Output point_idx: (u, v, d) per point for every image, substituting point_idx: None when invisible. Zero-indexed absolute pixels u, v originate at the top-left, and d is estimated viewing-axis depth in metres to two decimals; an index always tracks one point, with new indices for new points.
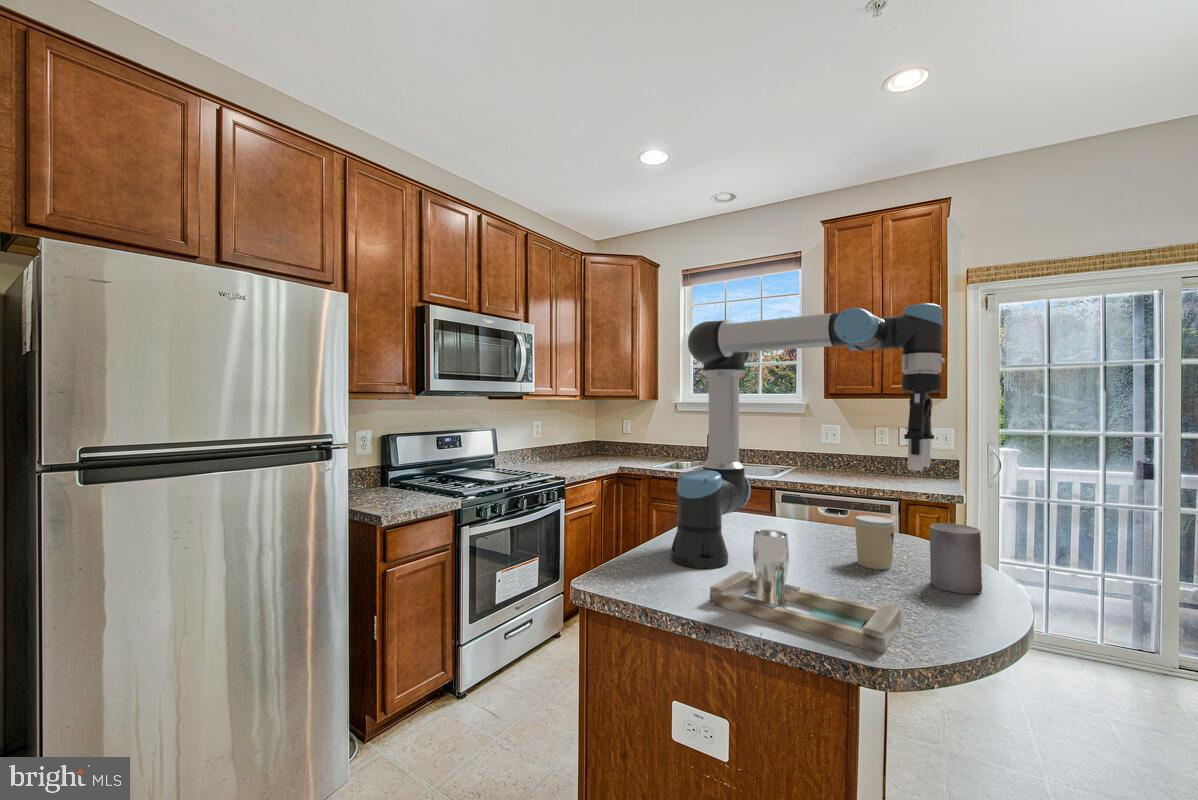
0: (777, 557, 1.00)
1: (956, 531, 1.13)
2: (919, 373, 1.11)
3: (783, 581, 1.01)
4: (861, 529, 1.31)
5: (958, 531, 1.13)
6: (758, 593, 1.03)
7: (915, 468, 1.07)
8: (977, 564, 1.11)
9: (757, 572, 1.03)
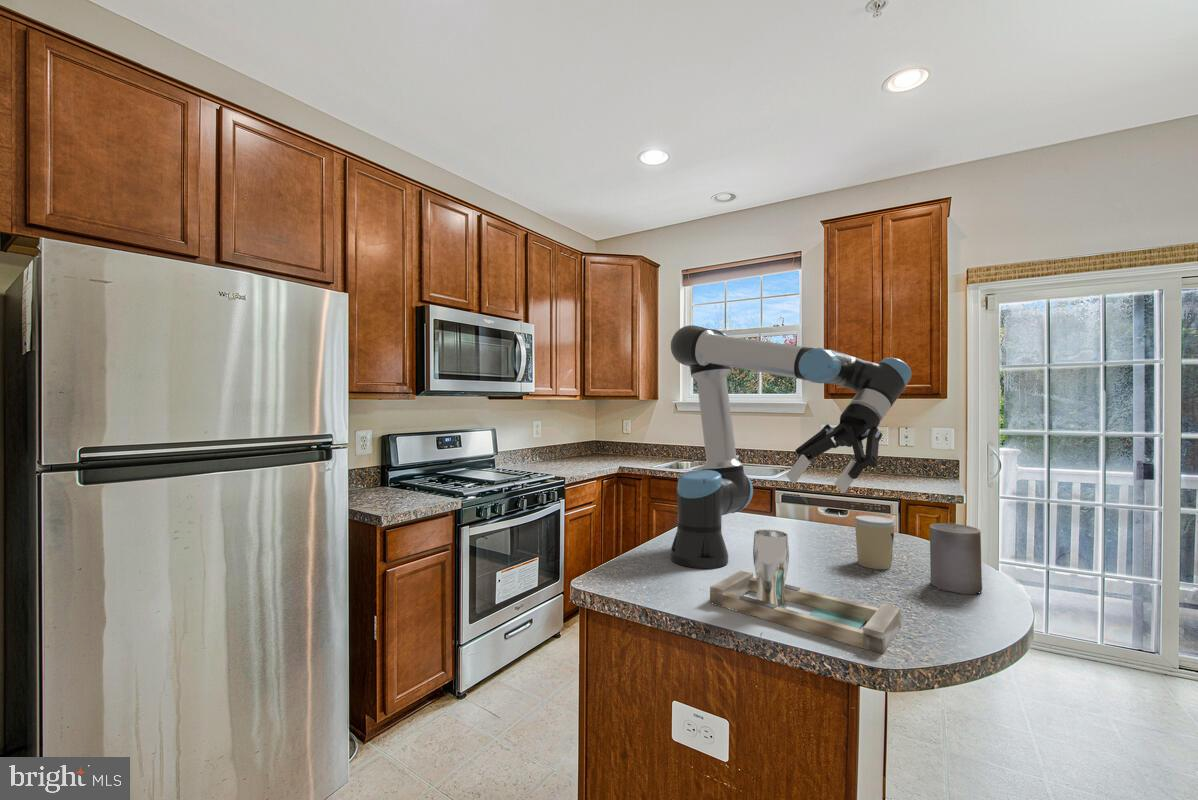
0: (777, 557, 1.00)
1: (956, 531, 1.13)
2: (876, 414, 1.11)
3: (783, 581, 1.01)
4: (861, 529, 1.31)
5: (958, 531, 1.13)
6: (758, 593, 1.03)
7: (842, 487, 1.01)
8: (977, 564, 1.11)
9: (757, 572, 1.03)
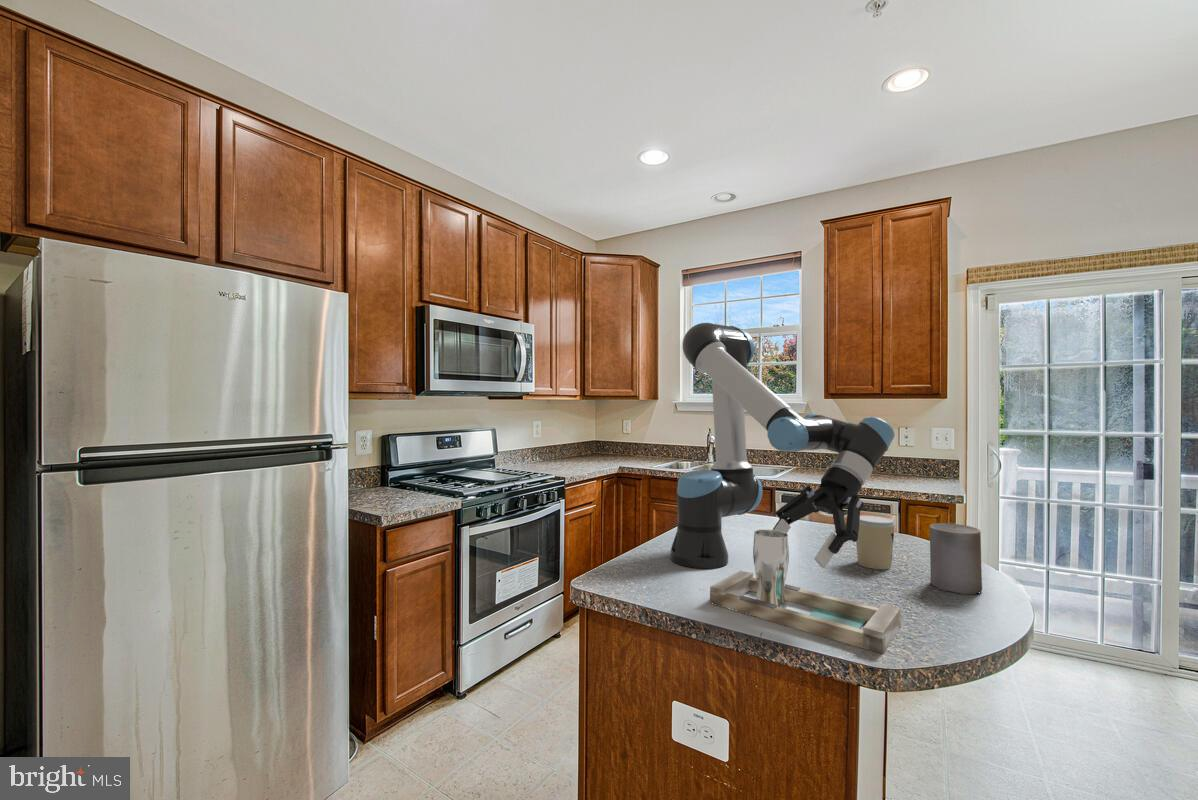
0: (777, 557, 1.00)
1: (956, 531, 1.13)
2: (858, 479, 1.06)
3: (783, 581, 1.01)
4: (861, 529, 1.31)
5: (958, 531, 1.13)
6: (758, 593, 1.03)
7: (822, 562, 0.97)
8: (977, 564, 1.11)
9: (757, 572, 1.03)
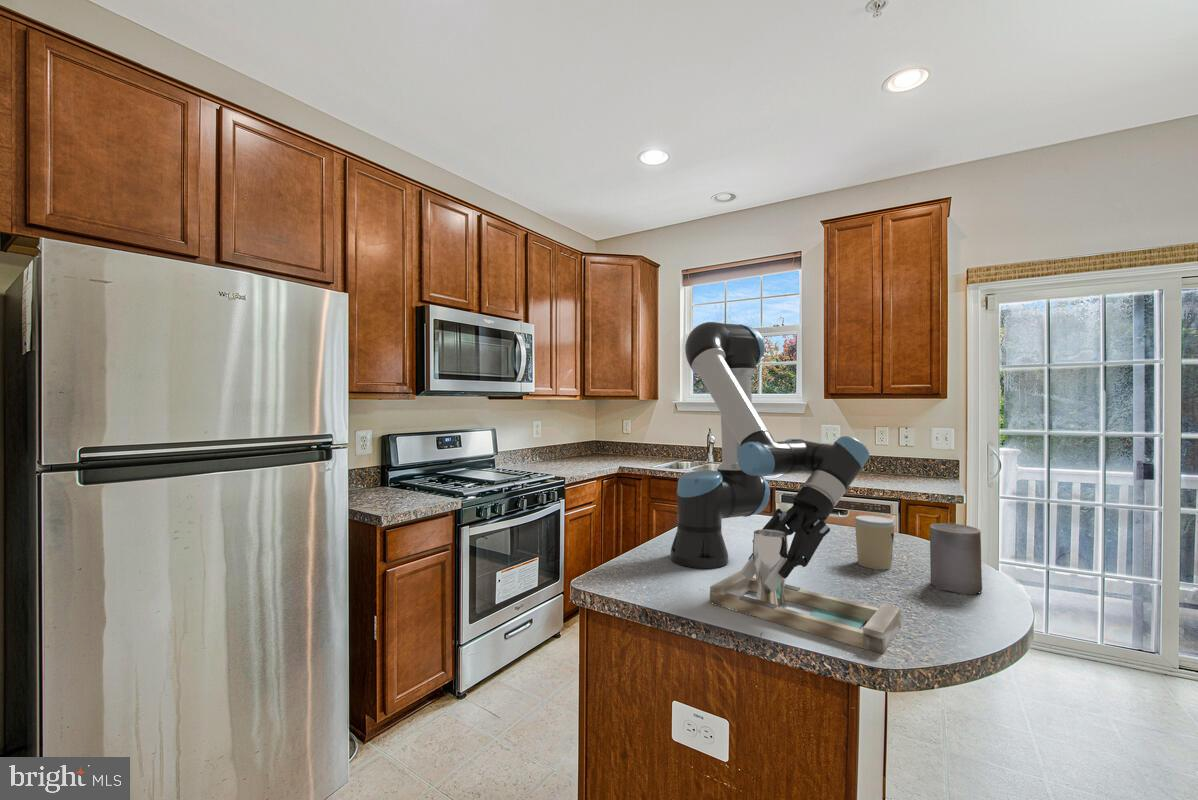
0: (777, 557, 1.00)
1: (956, 531, 1.13)
2: (829, 500, 1.05)
3: (783, 581, 1.01)
4: (861, 529, 1.31)
5: (958, 531, 1.13)
6: (758, 593, 1.03)
7: (771, 586, 0.98)
8: (977, 564, 1.11)
9: (757, 572, 1.03)
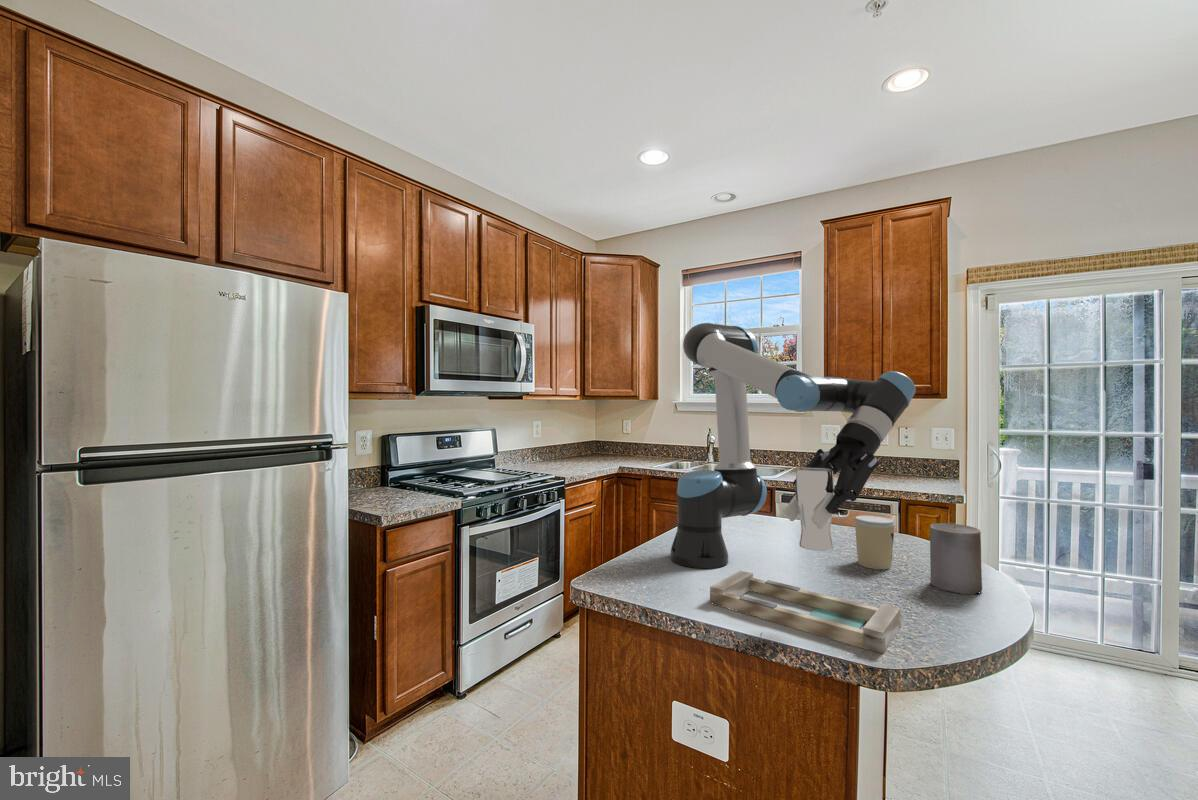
0: (823, 492, 0.94)
1: (956, 531, 1.13)
2: (876, 434, 0.99)
3: (829, 518, 0.95)
4: (861, 529, 1.31)
5: (958, 531, 1.13)
6: (802, 533, 0.97)
7: (818, 523, 0.93)
8: (977, 564, 1.11)
9: (801, 510, 0.97)
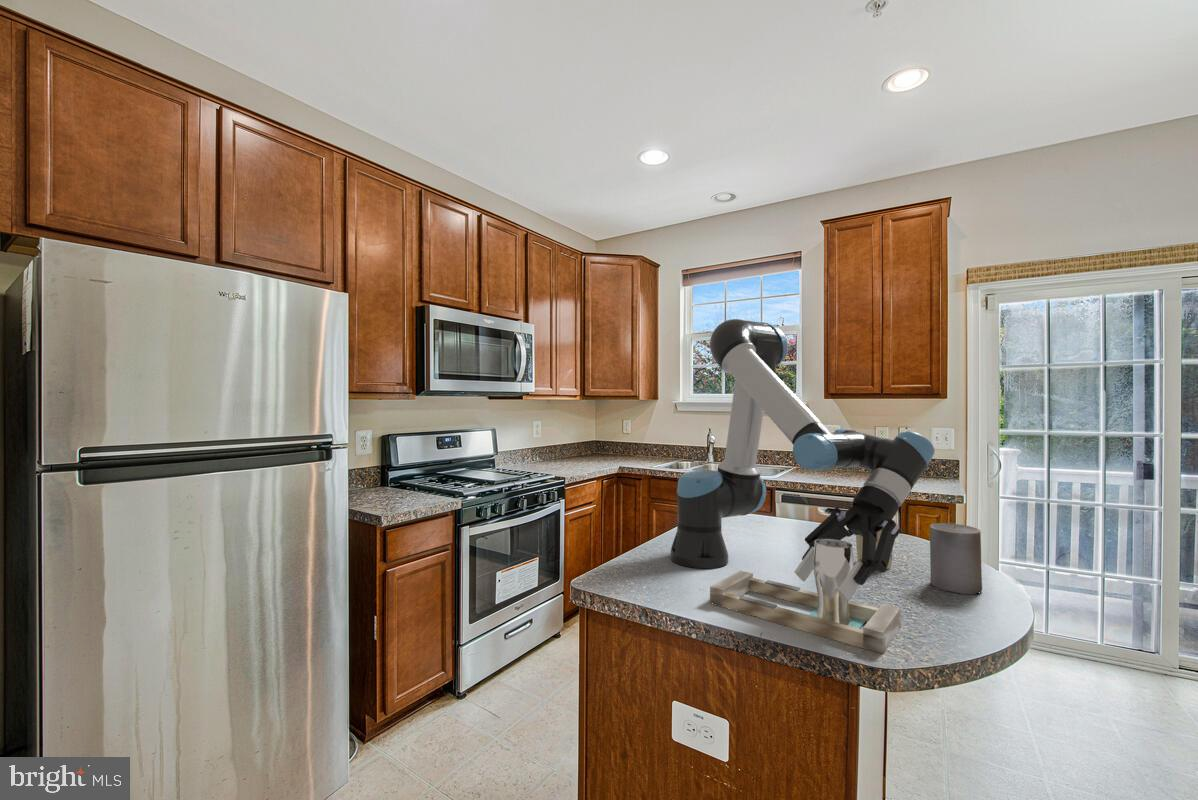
0: (842, 569, 0.92)
1: (956, 531, 1.13)
2: (895, 500, 0.97)
3: None
4: None
5: (958, 531, 1.13)
6: (820, 608, 0.95)
7: (846, 594, 0.89)
8: (977, 564, 1.11)
9: (819, 585, 0.95)
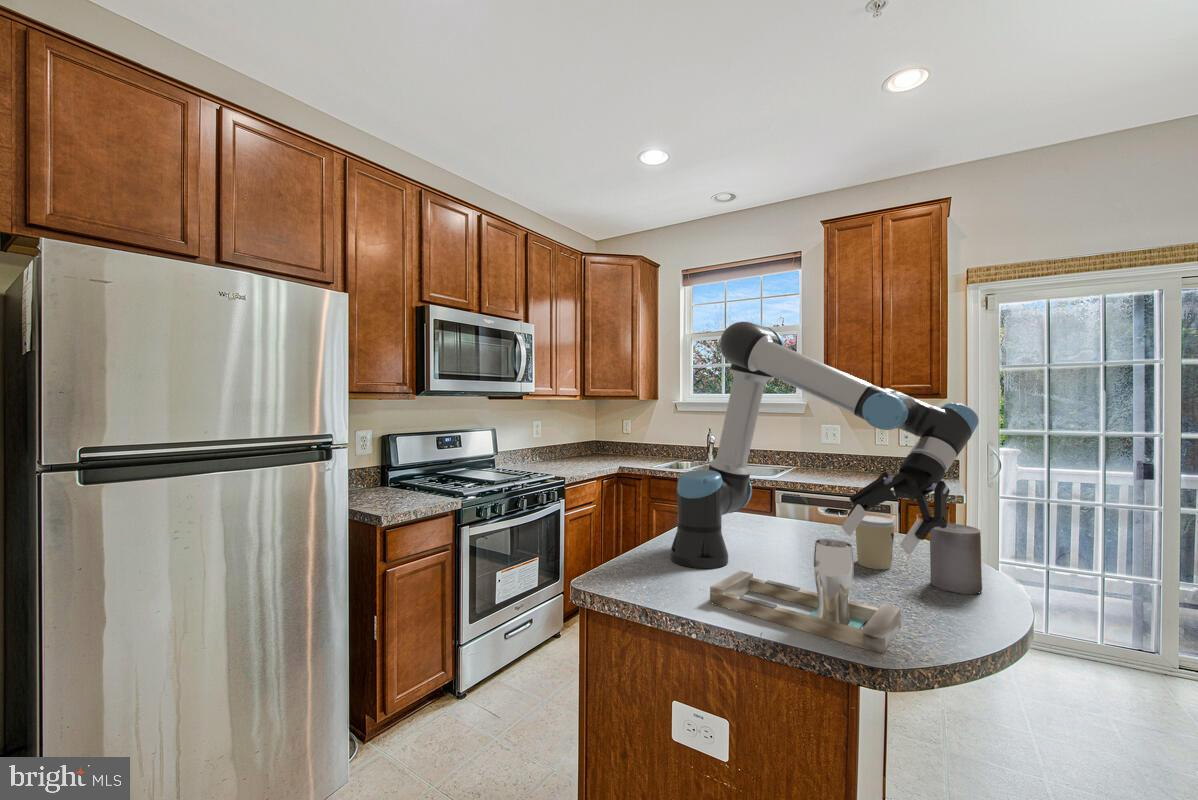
0: (842, 569, 0.92)
1: (956, 531, 1.13)
2: (941, 466, 1.03)
3: (848, 595, 0.93)
4: (861, 529, 1.31)
5: (958, 531, 1.13)
6: (820, 608, 0.95)
7: (908, 548, 0.94)
8: (977, 564, 1.11)
9: (819, 585, 0.95)
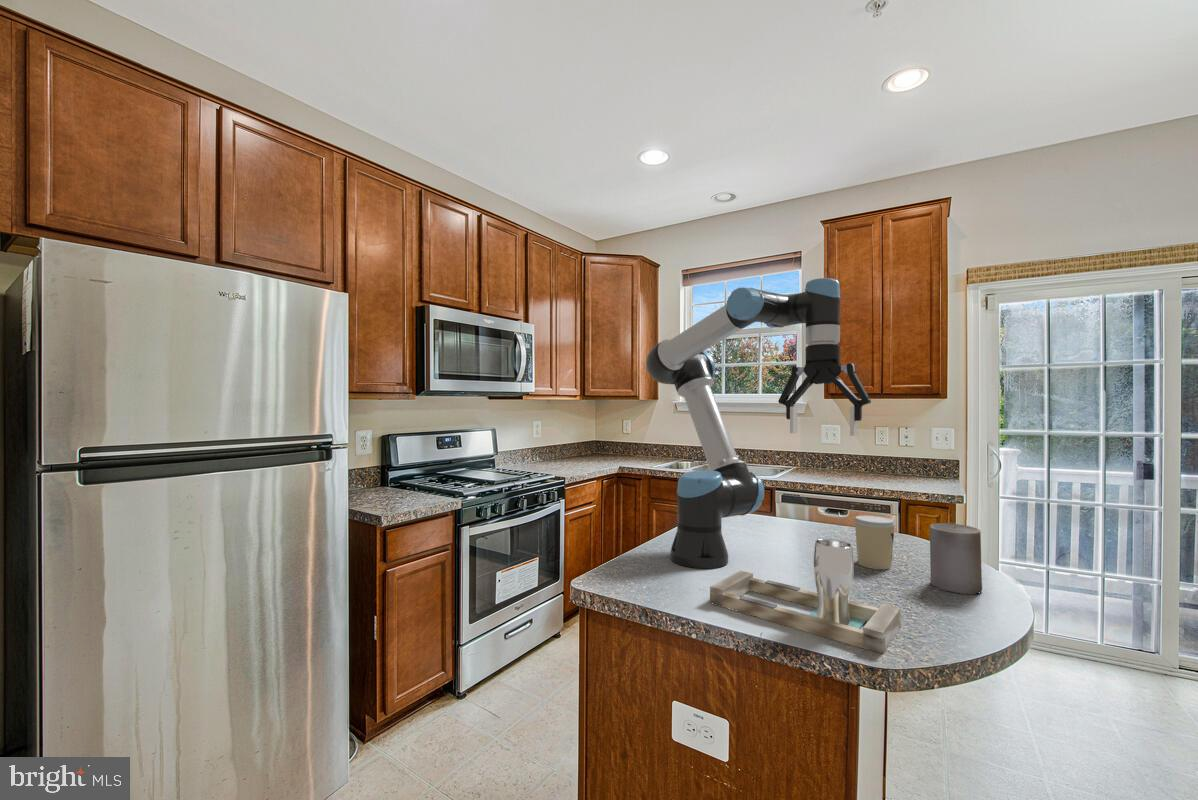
0: (842, 569, 0.92)
1: (956, 531, 1.13)
2: None
3: (848, 595, 0.93)
4: (861, 529, 1.31)
5: (958, 531, 1.13)
6: (820, 608, 0.95)
7: (855, 433, 1.15)
8: (977, 564, 1.11)
9: (819, 585, 0.95)
